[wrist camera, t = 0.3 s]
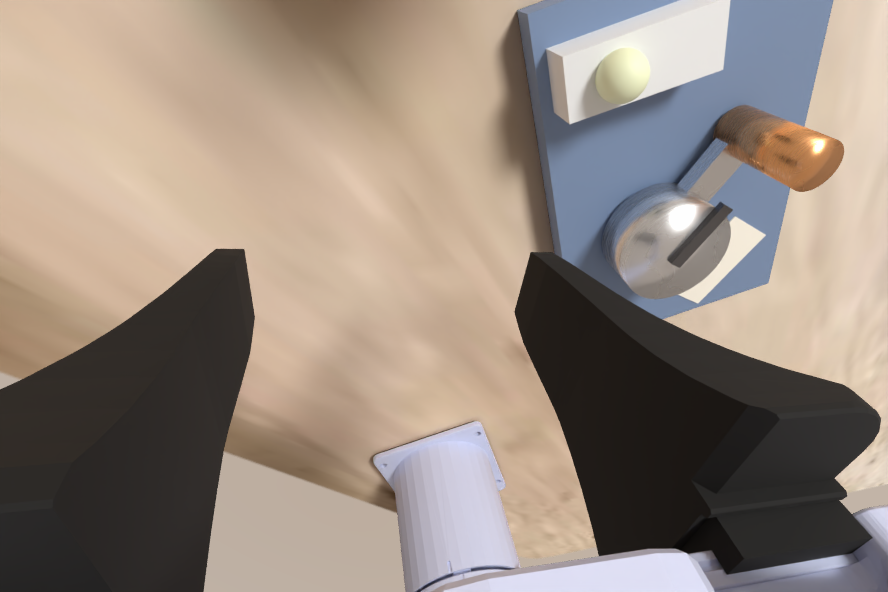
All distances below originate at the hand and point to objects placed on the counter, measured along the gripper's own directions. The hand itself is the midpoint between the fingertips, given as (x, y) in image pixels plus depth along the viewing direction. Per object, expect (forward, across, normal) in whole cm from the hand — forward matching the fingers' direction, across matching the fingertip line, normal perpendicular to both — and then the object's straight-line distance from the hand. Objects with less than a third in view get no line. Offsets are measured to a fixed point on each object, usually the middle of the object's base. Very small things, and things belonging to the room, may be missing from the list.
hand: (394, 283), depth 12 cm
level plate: (+10, -14, 0) cm, 17 cm away
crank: (+8, -14, +1) cm, 17 cm away
